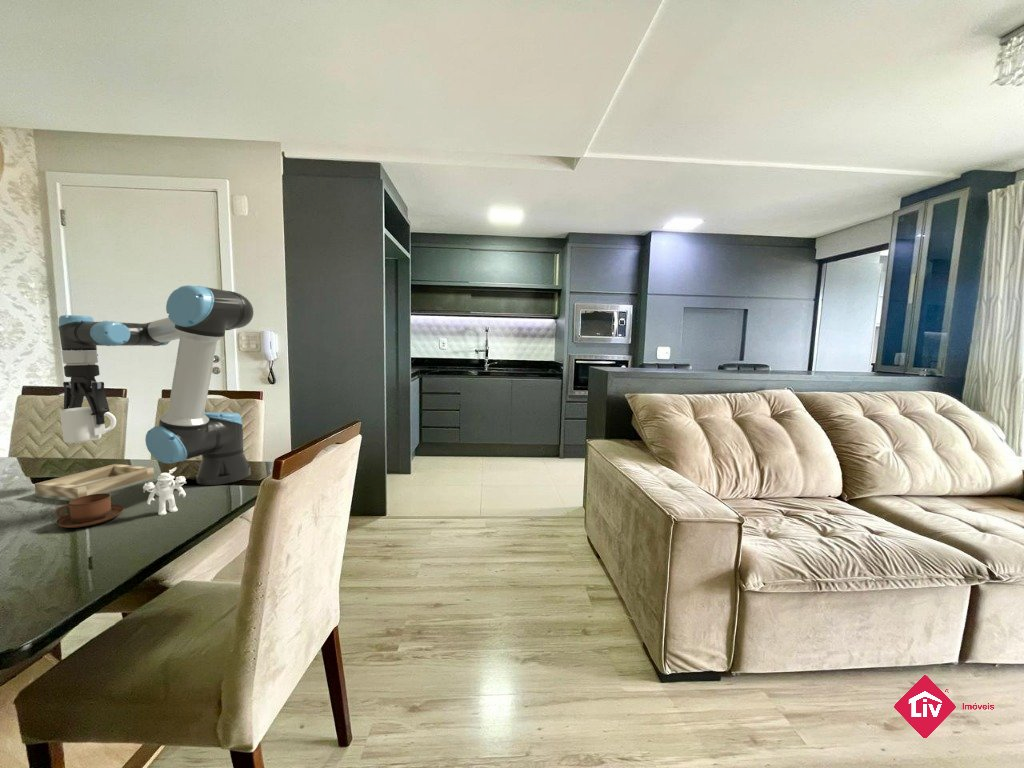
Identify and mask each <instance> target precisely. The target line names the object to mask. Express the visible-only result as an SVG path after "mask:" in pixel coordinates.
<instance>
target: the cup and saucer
mask: <svg viewBox="0 0 1024 768" xmlns="http://www.w3.org/2000/svg"><path fill="white" fill-rule="evenodd" d="M111 497H112V496H111V494H110V493H108V494H106V493H102V494H93V495H87V496H83V497H79V498H76V499H74V500H72V501H68V504H67V505H62V506H59V507H58V508H57V509H56V510H55V515H56V516H57V517H59V518H58V519H57V520H56V523H55V524H56V525H57V526H59V527H62V528H67V529H70V528H71V529H72V528H73V529H75V528H83V527H90V526H94V525H97V524H98V525H99V524H101V523H104V522H108V521H110V520H112V519H114V518H116V517H118V516H119V515H121V513H123V512H124V510H125V507H124V506H123V505H120V504H112V500H111V499H112V498H111ZM62 509H69V512H68V513H66V514H63V513H61V512H60V511H61V510H62Z"/></svg>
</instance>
